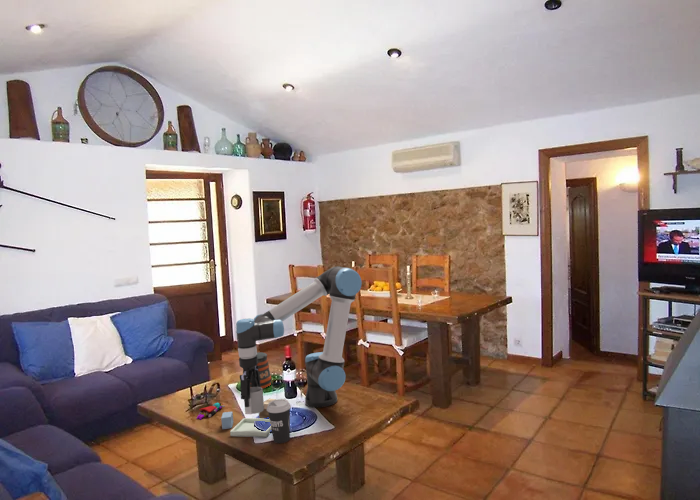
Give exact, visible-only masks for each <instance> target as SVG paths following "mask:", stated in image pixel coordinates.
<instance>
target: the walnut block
mask: <svg viewBox="0 0 700 500" xmlns="http://www.w3.org/2000/svg"><path fill="white" fill-rule="evenodd" d="M267 406H268V405H264V410H263V411H262V412H260V413H258V415H259V418H267V417H269V414H268V411H267Z"/></svg>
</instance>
